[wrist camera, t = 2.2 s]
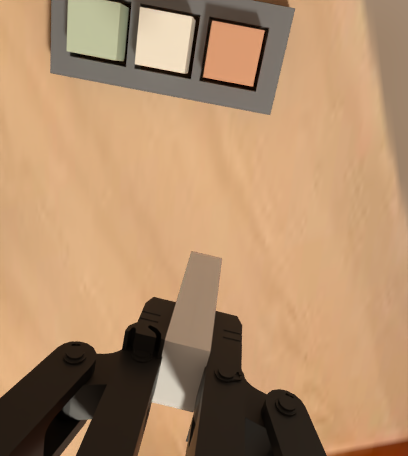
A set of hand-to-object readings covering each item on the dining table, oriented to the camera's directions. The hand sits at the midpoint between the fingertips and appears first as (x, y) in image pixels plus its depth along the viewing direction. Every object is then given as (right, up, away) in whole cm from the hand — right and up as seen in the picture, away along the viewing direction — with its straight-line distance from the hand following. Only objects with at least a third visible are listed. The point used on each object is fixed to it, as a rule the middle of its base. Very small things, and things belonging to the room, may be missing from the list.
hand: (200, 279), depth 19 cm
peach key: (+3, +17, +13) cm, 21 cm away
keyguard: (-3, +18, +15) cm, 24 cm away
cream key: (-3, +18, +13) cm, 22 cm away
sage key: (-8, +19, +13) cm, 24 cm away
